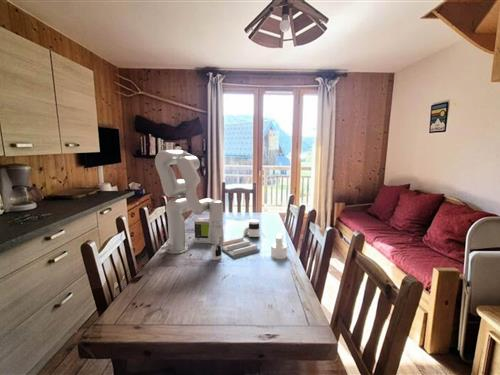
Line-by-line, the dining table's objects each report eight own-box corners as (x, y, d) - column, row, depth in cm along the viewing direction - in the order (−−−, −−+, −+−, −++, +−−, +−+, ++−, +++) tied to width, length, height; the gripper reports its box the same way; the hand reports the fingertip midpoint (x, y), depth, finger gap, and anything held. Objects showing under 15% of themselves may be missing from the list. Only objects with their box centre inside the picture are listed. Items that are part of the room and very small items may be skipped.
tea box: (220, 238, 175) (220, 217, 173) (217, 244, 165) (217, 221, 163) (199, 237, 177) (198, 216, 174) (194, 243, 167) (193, 221, 165)
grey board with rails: (233, 258, 144) (233, 252, 143) (218, 247, 159) (218, 241, 159) (259, 251, 154) (259, 245, 153) (242, 241, 169) (242, 236, 169)
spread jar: (259, 239, 174) (259, 223, 172) (242, 239, 174) (242, 222, 172) (259, 233, 186) (259, 218, 184) (243, 233, 186) (243, 217, 184)
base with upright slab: (286, 259, 144) (286, 239, 142) (270, 258, 145) (270, 237, 143) (287, 253, 152) (287, 233, 150) (272, 251, 154) (272, 232, 152)
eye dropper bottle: (212, 256, 146) (212, 236, 144) (222, 257, 146) (222, 237, 144) (210, 260, 142) (210, 239, 140) (220, 260, 142) (220, 239, 140)
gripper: (203, 220, 145) (204, 251, 148) (217, 227, 132) (217, 261, 135) (215, 218, 149) (215, 248, 152) (229, 225, 136) (229, 258, 139)
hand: (216, 254), depth 143 cm, fingers closed on eye dropper bottle, 3 cm apart
